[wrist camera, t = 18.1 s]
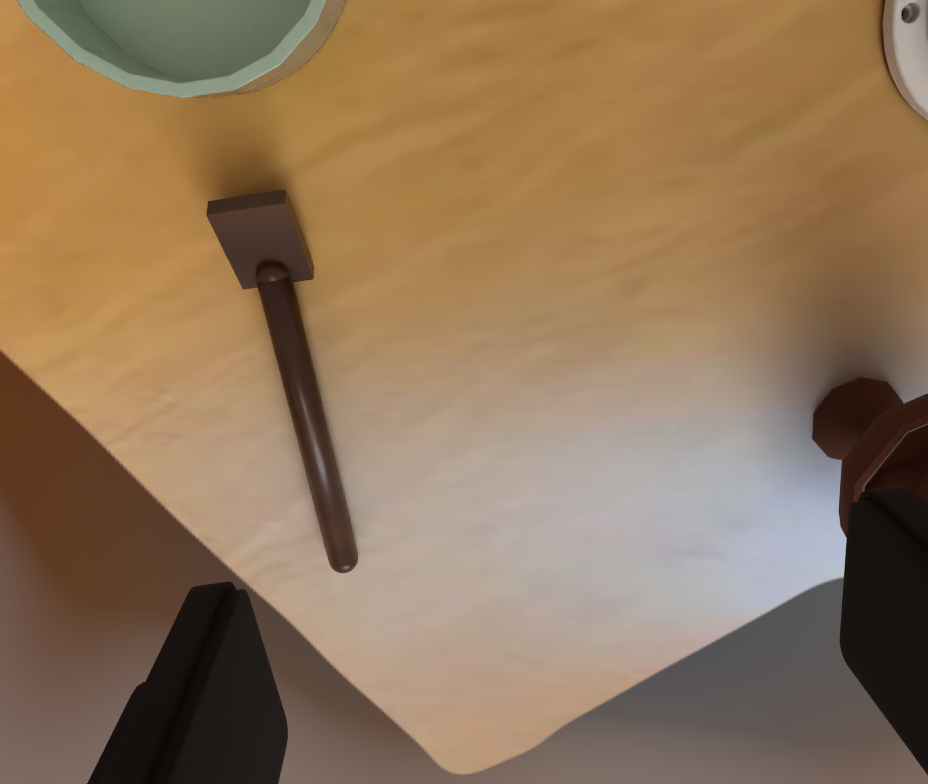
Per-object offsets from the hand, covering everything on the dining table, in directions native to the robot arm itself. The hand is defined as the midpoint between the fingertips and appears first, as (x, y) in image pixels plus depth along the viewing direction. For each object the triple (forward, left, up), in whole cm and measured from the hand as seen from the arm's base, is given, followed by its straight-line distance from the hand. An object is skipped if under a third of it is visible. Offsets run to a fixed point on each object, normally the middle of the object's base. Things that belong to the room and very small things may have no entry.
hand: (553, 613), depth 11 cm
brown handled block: (+10, +4, -33) cm, 35 cm away
